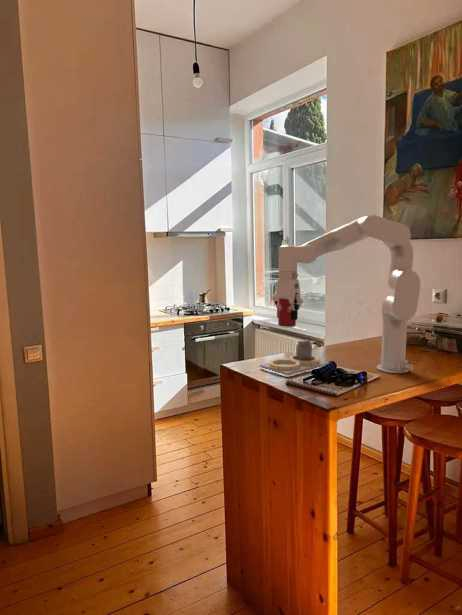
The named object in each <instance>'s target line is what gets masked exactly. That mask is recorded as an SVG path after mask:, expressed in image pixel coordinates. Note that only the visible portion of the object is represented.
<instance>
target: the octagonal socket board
mask: <svg viewBox="0 0 462 615" xmlns="http://www.w3.org/2000/svg"><path fill="white" fill-rule="evenodd" d="M327 363H328V364H329V361H328V362H327V361H324V360H320V358H319V357H318V356H316V355H313V354H312V360H311V361H299V360H296V354H294V355H290V356H288V358H274V359H271V360H269V362H266V363H262V364H259V368H260V367H262V368H265V369H269V370H272V371H275V372H278V373H282V374H285V375H291V374H294V373H298V372H303V371H306V370H310V369H314V368H317V367H320V366H322V365H324V364H327Z"/></svg>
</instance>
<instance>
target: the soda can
mask: <svg viewBox="0 0 462 615" xmlns="http://www.w3.org/2000/svg"><path fill="white" fill-rule="evenodd" d="M295 300H296V298H295ZM295 300H294V302H295ZM294 307H295V304H294ZM291 310H292V307H291V304H290V303H289V300H288V299H286V298H279V307H278V318H277V320H278V323H277V325H278V327H280V328H284V329H285V328H286V329H287V328H288V329H290V328H291V329H292V328H295V327H296V326H297V320H291Z"/></svg>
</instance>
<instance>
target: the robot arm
mask: <svg viewBox="0 0 462 615" xmlns="http://www.w3.org/2000/svg"><path fill="white" fill-rule="evenodd" d="M411 236H412V233H411V230H410V228H409V227H408V226H407V225H405V224H404V223H401V222H398V221H394V220H390V219H388V218H385V217H382V216H379V215H376V214H368V215H365V216H361V217H359V218H357V219H355V220H352V221H351V222H348V223H347V224H344V225H341V226H340V227H337V228H335V229H334V230H330V231H329V232H327V233H325V234H323V235H321V236H318V237H317V238H315V239H314V238H313V239H312V240H309V241H307V242H305V243H303V244H302V245H293V244H292V245H291V244H289V245H287V244H286V245H283V244H282V245H280V246H279V247H278V278H277V283H276V288H275V289H276V290H275V295H274V296H273V297H272V300H273V302H274V304H275V308H276V310H277V311H276V318H277V319H278V307H279V298H286V299H288V300H289V303H290V304H291V307H292V310H291V320H296V321H297V320H298V312H299V310H300V308H301V307H302V305H303V303H304V301H303V299H302V298H301V287H300V286H301V285H300V281H299V279H298V278H299V273H298V263H301V264H308V265H309V264H310V265H311V264H312V263H314V262H315V261H317V259H318V258H319V257H322V256H323V255H325V254H328V253H329V254H330V253H332V252H337V251H340V250H344V249H346V248H347V247H350V246H352V245H355V244H357V243H359V242H361V241H364V240H366V239H368V238H373V239H375V240H378V241H381V242H382V243H383V244H384V245H386V246H387V248H388V249H389V250H390V266H389V267H390V268H389V271H388V278H387V284H388V287H389V288H390V290H392V291H394V294H390V295H387V296H386V297H385V298H384V299H383V301H382V304H381V318H382V330H381V331H382V332H381V350H380V351H381V354H380V355H381V356H380V357H381V358H380V363H378V364H377V365H376V369H377V370H378V371H380V372H383V373H389V374H404V373H408V372H409V371H413V370H414V364H410V363H408V360H407V359H406V349H407V347H406V346H407V333H408V330H407V329H408V328H407V327H408V325H407V324H408V323H407V322H408V321H410V320H411V319H413V317H415V316H416V314H417V310H418V306H419V305H418V303H419V297H420V291H421V278H420V276H419V274H418V273H417V272H416V271H414V270H413V267H414V266H413V265H414V249H413V246H412V244H411V242H410V240H411ZM295 298H296V300H295ZM294 300H295V302H294ZM294 304H295V307H294Z"/></svg>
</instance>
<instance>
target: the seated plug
mask: <svg viewBox="0 0 462 615" xmlns="http://www.w3.org/2000/svg"><path fill="white" fill-rule="evenodd" d="M295 350H296V351H295V353H296V354H295V355H296V360H299V361H311V360H312V355H313V352H312V351H313V345H312V344H311V340H308V339H303V340H298V341H297V344H296V349H295Z"/></svg>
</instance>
